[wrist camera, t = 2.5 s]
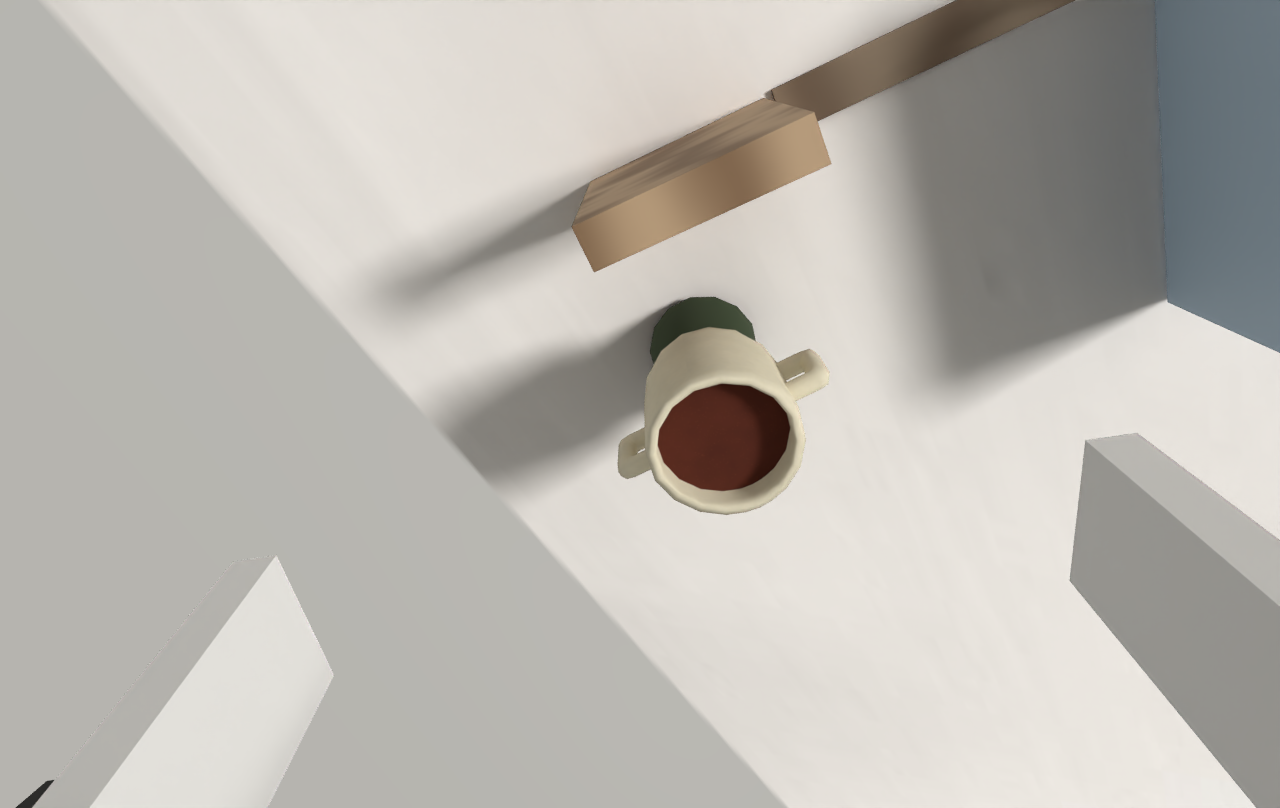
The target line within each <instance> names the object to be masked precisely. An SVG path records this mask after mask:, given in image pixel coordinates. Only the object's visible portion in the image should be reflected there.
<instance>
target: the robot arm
mask: <svg viewBox="0 0 1280 808" xmlns="http://www.w3.org/2000/svg"><path fill="white" fill-rule="evenodd" d="M1070 582H1071V583H1072V584H1073V586H1074V587H1075V588H1076V589H1077V590H1078V592H1079V593H1080V594H1081V595H1082V596H1083V598H1084V599H1085V600H1086V601H1087V603H1088V604H1089V605H1090V606H1091V607H1092V609H1093V610H1094V611H1095V612H1096V613H1097V615H1098V616H1099V617H1100V618H1101V620H1102V621H1103V622H1104V623H1105V624H1106V626H1107V627H1108V628H1109V629H1110V630H1111V632H1112V633H1113V634H1114V635H1115V637H1116V638H1117V639H1118V640H1119V641H1120V643H1121V644H1122V645H1123V646H1124V647H1125V649H1126V650H1127V651H1128V652H1129V654H1130V655H1131V656H1132V657H1133V658H1134V660H1135V661H1136V662H1137V663H1138V664H1139V666H1140V667H1141V668H1142V669H1143V671H1144V672H1145V673H1146V674H1147V675H1148V677H1149V678H1150V679H1151V680H1152V681H1153V683H1154V684H1155V685H1156V686H1157V688H1158V689H1159V690H1160V691H1161V692H1162V694H1163V695H1164V696H1165V697H1166V699H1167V700H1168V701H1169V702H1170V703H1171V705H1172V706H1173V707H1174V708H1175V709H1176V711H1177V712H1178V713H1179V714H1180V716H1181V717H1182V718H1183V719H1184V720H1185V722H1186V723H1187V724H1188V725H1189V726H1190V728H1191V729H1192V730H1193V731H1194V733H1195V734H1196V735H1197V736H1198V737H1199V739H1200V740H1201V741H1202V742H1203V743H1204V745H1205V746H1206V747H1207V748H1208V750H1209V751H1210V752H1211V753H1212V754H1213V756H1214V757H1215V758H1216V759H1217V760H1218V762H1219V763H1220V764H1221V765H1222V767H1223V768H1224V769H1225V770H1226V771H1227V773H1228V774H1229V775H1230V776H1231V777H1232V779H1233V780H1234V781H1235V782H1236V784H1237V785H1238V786H1239V787H1240V788H1241V790H1242V791H1243V792H1244V793H1245V794H1246V796H1247V797H1248V798H1249V799H1250V801H1251V802H1252V803H1253V804H1254V805H1255V807H1256V808H1280V540H1279V539H1278V538H1276V537H1275V536H1274V535H1272V534H1271V533H1270V532H1268V531H1267V530H1266V529H1264V528H1263V527H1262V526H1260V525H1259V524H1258V523H1256V522H1255V521H1254V520H1252V519H1251V518H1250V517H1248V516H1247V515H1246V514H1244V513H1243V512H1242V511H1240V510H1239V509H1238V508H1236V507H1235V506H1234V505H1232V504H1231V503H1230V502H1228V501H1227V500H1226V499H1224V498H1223V497H1222V496H1220V495H1219V494H1218V493H1216V492H1215V491H1214V490H1212V489H1211V488H1210V487H1208V486H1207V485H1206V484H1204V483H1203V482H1202V481H1200V480H1199V479H1198V478H1196V477H1195V476H1194V475H1192V474H1191V473H1190V472H1188V471H1187V470H1186V469H1184V468H1183V467H1182V466H1180V465H1179V464H1178V463H1176V462H1175V461H1174V460H1173V459H1171V458H1170V457H1169V456H1167V455H1166V454H1165V453H1163V452H1162V451H1161V450H1159V449H1158V448H1157V447H1155V446H1154V445H1153V444H1151V443H1150V442H1149V441H1147V440H1146V439H1145V438H1143V437H1142V436H1141V435H1139V434H1138V433H1133V434H1126V435H1119V436H1112V437H1105V438H1098V439H1091V440H1085V449H1084V458H1083V466H1082V475H1081V484H1080V493H1079V502H1078V511H1077V520H1076V529H1075V537H1074V546H1073V555H1072V564H1071V573H1070ZM333 676H334V674H333V672H332V670H331V668H330V666H329V664H328V662H327V660H326V658H325V655H324V653H323V651H322V649H321V647H320V645H319V643H318V641H317V639H316V637H315V635H314V633H313V631H312V629H311V626H310V624H309V622H308V620H307V618H306V616H305V614H304V612H303V610H302V608H301V606H300V604H299V602H298V599H297V597H296V595H295V593H294V591H293V589H292V587H291V585H290V583H289V581H288V579H287V577H286V575H285V573H284V570H283V569H282V566H281V564H280V562H279V560H278V558H277V556H276V555H275V556H268V557H262V558H254V559H247V560H240V561H233V562H232V563H231V565H230V566H229V567H228V568H227V570H226V571H225V572H224V573H223V574H222V576H221V577H220V578H219V579H218V581H217V582H216V583H215V584H214V586H213V587H212V588H211V589H210V590H209V592H208V593H207V594H206V595H205V596H204V598H203V599H202V600H201V601H200V603H199V604H198V605H197V606H196V608H195V609H194V610H193V611H192V612H191V614H190V615H189V616H188V617H187V619H186V620H185V621H184V622H183V623H182V625H181V626H180V627H179V628H178V630H177V631H176V632H175V633H174V635H173V636H172V637H171V638H170V639H169V641H168V642H167V643H166V644H165V646H164V647H163V648H162V649H161V650H160V652H159V653H158V654H157V655H156V656H155V658H154V659H153V660H152V662H151V663H150V664H149V665H148V666H147V668H146V669H145V670H144V671H143V673H142V674H141V675H140V676H139V677H138V679H137V680H136V681H135V682H134V683H133V685H132V686H131V687H130V688H129V690H128V691H127V692H126V694H124V696H123V697H122V698H121V699H120V701H119V702H118V703H117V704H116V706H115V707H114V708H113V709H112V710H111V712H110V713H109V714H108V715H107V717H106V718H105V719H104V720H103V721H102V723H101V724H100V725H99V726H98V728H97V729H96V730H95V731H94V732H93V734H92V735H91V736H90V737H89V739H88V740H87V741H86V742H85V743H84V745H83V746H82V747H81V748H80V750H79V751H78V752H77V753H76V755H75V756H74V757H73V758H72V759H71V761H70V762H69V763H68V764H67V766H66V767H65V768H64V769H63V771H62V772H61V773H60V774H59V775H58V777H57V778H56V779H55V780H51V781H46V782H45V783H44V784H43V785H42V786H40V787H39V788H38V789H37V790H36V791H35V792H33V793H32V794H31V795H30V796H29V797H28V798H26V799H25V800H24V801H23V802H22V803H21V804H19V805H18V806H17V807H16V808H267V807H268V806H269V804H270V801H271V800H272V798H273V796H274V794H275V792H276V790H277V788H278V786H279V784H280V782H281V780H282V778H283V776H284V774H285V772H286V770H287V768H288V766H289V764H290V762H291V760H292V758H293V756H294V754H295V752H296V750H297V748H298V746H299V744H300V742H301V740H302V738H303V735H304V734H305V732H306V730H307V728H308V726H309V724H310V722H311V720H312V718H313V716H314V714H315V712H316V710H317V708H318V706H319V704H320V702H321V700H322V698H323V695H324V694H325V692H326V690H327V688H328V686H329V684H330V682H331V680H332V678H333Z"/></svg>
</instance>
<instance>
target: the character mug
mask: <svg viewBox="0 0 1280 808" xmlns="http://www.w3.org/2000/svg"><path fill="white" fill-rule="evenodd" d="M650 353H651V357H652V360H653V363H654V365H653V367H652V369H651V371H650V373H649V374H648V376H647V381H646V391H645V401H644V416H645V427H644V428H642V429H640V430H638V431H636V432H634V433H632V434H630V435H628V436H627V437H625V438H624V439H622V440H621V442H620V444H619V449H618V471H619V473H620V475H621V476H622V477H624V478H626V479H629V478H633V477H636V476H638V475H640V474H642V473H644V472H646V471H648V470H652V473H653V476H654V479H655V481H656V482H657V483H658V484H659V485H660V486H661V487H662V488H663V489H664V490H665V491H666V492H667V493H668V494H669V495H670V496H671V497H672V498H673V499H674V500H676V501H678V502H680V503H682V504H684V505H687V506H689V507H691V508H693V509H695V510H697V511H700V512H707V513H715V514H724V515H729V514H736V513H743V512H748V511H751V510H754V509H757V508H760V507H761V506H763V505H765V504H767V503H768V502H770V501H772V500H773V499H774V498H776V497H777V496H778V495H779V494H780V493H781V492H783V491H784V490H785V489H786V488H787V487H788V485H789V484H790V482H791V481H792V479H793V477H794V476H795V474H796V473H797V471H798V470H799V468H800V466H801V461H802V456H803V451H804V446H805V441H806V438H805V433H804V428H803V424H802V420H801V416H800V412H799V407H798V405H797V403H796V401H797V400H799V399H801V398H803V397H805V396H808V395H810V394H812V393H814V392H816V391H818V390H820V389H822V388H823V387H825V386H826V385H828V383H829V371H828V369H827V367H826V366H825V364H824V362H823V361H822V359H821V358H820V356H819V355H818V354H817V353H816V352H814V351H813V350H810V349H807V350H804V351H801V352H799V353H797V354H794V355H792V356H790V357H788V358H786V359H784V360H782V361H780V362H778V363H777V362H776V361H775V360H774V359H773V357H772V356H771V355H770V354H769V352H768V351H767V350H766V349H765V347H764V346H763V345H762V344H760V343H758V342H756V340H755V336H754V331H753V326H752V323H751V322H750V321H749V320H748V319H747V318H746V316H745V315H744V314H743V313H742V312H741V311H740V309H739V308H738V307H737V306H734V305H732V304H730V303H728V302H725V301H723V300H721V299H718V298H716V297H691V298H688V299H686V300H684V301H682V302H681V303H679V304H677V305H675V306H673V307H671V308H669V309H668V310H667V311H666V313H665V314H664V316H663V317H662V318H661V320H660V321H659V322H658V324H657V325H656V326H655V328H654V332H653V337H652V343H651V348H650ZM802 372H805V374H803V375H801V376H799V377H797V378H795V379H793V380H790V381H788V382H786V380H788V379H790V378H792V377H794V376H796V375H798V374H800V373H802ZM644 448H645V450H644V451H642V452H640V453H638V451H640V450H642V449H644ZM637 453H638V454H637Z"/></svg>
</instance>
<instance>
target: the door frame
mask: <svg viewBox="0 0 1280 808" xmlns="http://www.w3.org/2000/svg"><path fill="white" fill-rule="evenodd" d="M1073 1H1075V0H956V1H954V2H951V3H949V4H947V5H945V6H943V7H941V8H939V9H937V10H935V11H933V12H931V13H929V14H927V15H925V16H923V17H920V18H918V19H916V20H914V21H912V22H910V23H908V24H906V25H904V26H902V27H900V28H898V29H896V30H894V31H892V32H890V33H887V34H885V35H883V36H881V37H879V38H877V39H875V40H873V41H871V42H869V43H867V44H865V45H863V46H861V47H859V48H856V49H854V50H852V51H850V52H848V53H846V54H844V55H842V56H840V57H838V58H836V59H834V60H832V61H830V62H828V63H826V64H823V65H821V66H819V67H817V68H815V69H813V70H811V71H809V72H807V73H805V74H803V75H801V76H799V77H797V78H795V79H792V80H790V81H788V82H786V83H784V84H782V85H780V86H778V87H776V88H774V89H772V90H771V91H772V94H773V97H774V99H775V101H772V100H769V99H765V98H762V99H760V100H758V101H756V102H754V103H752V104H750V105H748V106H746V107H744V108H742V109H740V110H738V111H736V112H734V113H731V114H729V115H727V116H725V117H723V118H721V119H719V120H717V121H715V122H713V123H711V124H709V125H707V126H705V127H702V128H700V129H698V130H696V131H694V132H692V133H690V134H688V135H686V136H684V137H682V138H680V139H678V140H676V141H673V142H671V143H669V144H667V145H665V146H663V147H661V148H659V149H657V150H655V151H653V152H651V153H649V154H647V155H645V156H642V157H640V158H638V159H636V160H634V161H632V162H630V163H628V164H626V165H624V166H622V167H620V168H618V169H616V170H613V171H611V172H609V173H607V174H605V175H603V176H601V177H599V178H597V179H595V180H593V181H591V182H590V184H589V187H588V189H587V191H586V194H585V196H584V199H583V201H582V203H581V206H580V208H579V210H578V213H577V215H576V218H575V220H574V222H573V225H572V229H573V231H574V233H575V235H576V237H577V239H578V241H579V243H580V245H581V247H582V249H583V251H584V253H585V255H586V257H587V259H588V261H589V263H590V265H591V267H592V269H593V271H594V272H596V271H598V270H600V269H603V268H605V267H607V266H609V265H611V264H614V263H616V262H618V261H620V260H622V259H625V258H627V257H629V256H631V255H633V254H635V253H638V252H640V251H642V250H644V249H646V248H649V247H651V246H653V245H655V244H657V243H659V242H662V241H664V240H666V239H668V238H670V237H673V236H675V235H677V234H679V233H681V232H684V231H686V230H688V229H690V228H692V227H694V226H697V225H699V224H701V223H703V222H705V221H708V220H710V219H712V218H714V217H716V216H719V215H721V214H723V213H725V212H727V211H729V210H732V209H734V208H736V207H738V206H740V205H743V204H745V203H747V202H749V201H751V200H754V199H756V198H758V197H760V196H762V195H764V194H767V193H769V192H771V191H773V190H775V189H778V188H780V187H782V186H784V185H786V184H789V183H791V182H793V181H795V180H797V179H799V178H802V177H804V176H806V175H808V174H810V173H813V172H815V171H817V170H819V169H821V168H824V167H826V166H828V165H830V164H831V161H830V158H829V155H828V152H827V149H826V146H825V143H824V140H823V137H822V134H821V131H820V128H819V125H818V122H817V121H819V120H822V119H824V118H826V117H828V116H830V115H832V114H834V113H836V112H839V111H841V110H843V109H845V108H847V107H849V106H851V105H853V104H856V103H858V102H860V101H862V100H864V99H866V98H868V97H870V96H873V95H875V94H877V93H879V92H881V91H883V90H885V89H887V88H890V87H892V86H894V85H896V84H898V83H900V82H902V81H904V80H907V79H909V78H911V77H913V76H915V75H917V74H919V73H921V72H924V71H926V70H928V69H930V68H932V67H934V66H936V65H938V64H941V63H943V62H945V61H947V60H949V59H951V58H953V57H956V56H958V55H960V54H962V53H964V52H966V51H968V50H970V49H973V48H975V47H977V46H979V45H981V44H983V43H985V42H987V41H990V40H992V39H994V38H996V37H998V36H1000V35H1002V34H1004V33H1007V32H1009V31H1011V30H1013V29H1015V28H1017V27H1019V26H1021V25H1024V24H1026V23H1028V22H1030V21H1032V20H1034V19H1036V18H1038V17H1041V16H1043V15H1045V14H1047V13H1049V12H1051V11H1053V10H1055V9H1058V8H1060V7H1062V6H1064V5H1066V4H1068V3H1070V2H1073Z"/></svg>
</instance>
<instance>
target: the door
mask: <svg viewBox="0 0 1280 808" xmlns="http://www.w3.org/2000/svg"><path fill="white" fill-rule="evenodd" d="M1155 17H1156V40H1157V64H1158V88H1159V111H1160V135H1161V159H1162V182H1163V206H1164V229H1165V253H1166V277H1167V300H1168V303H1171V304H1173V305H1175V306H1177V307H1180V308H1182V309H1184V310H1186V311H1188V312H1191V313H1193V314H1195V315H1197V316H1199V317H1202V318H1204V319H1206V320H1208V321H1211V322H1213V323H1215V324H1217V325H1219V326H1222V327H1224V328H1226V329H1228V330H1230V331H1233V332H1235V333H1237V334H1239V335H1242V336H1244V337H1246V338H1248V339H1250V340H1253V341H1255V342H1257V343H1259V344H1262V345H1264V346H1266V347H1268V348H1270V349H1273V350H1275V351H1277V352H1279V353H1280V0H1155Z"/></svg>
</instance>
